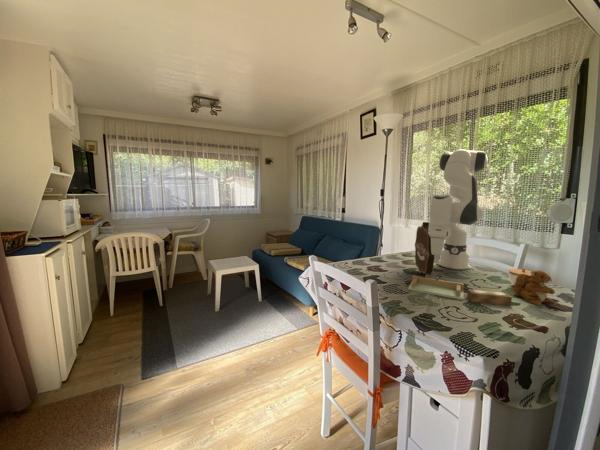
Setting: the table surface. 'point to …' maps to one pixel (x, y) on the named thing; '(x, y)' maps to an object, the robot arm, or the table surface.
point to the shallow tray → (437, 287)
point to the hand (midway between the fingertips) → (437, 260)
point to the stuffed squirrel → (533, 287)
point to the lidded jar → (517, 274)
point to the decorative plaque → (423, 250)
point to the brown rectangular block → (489, 297)
